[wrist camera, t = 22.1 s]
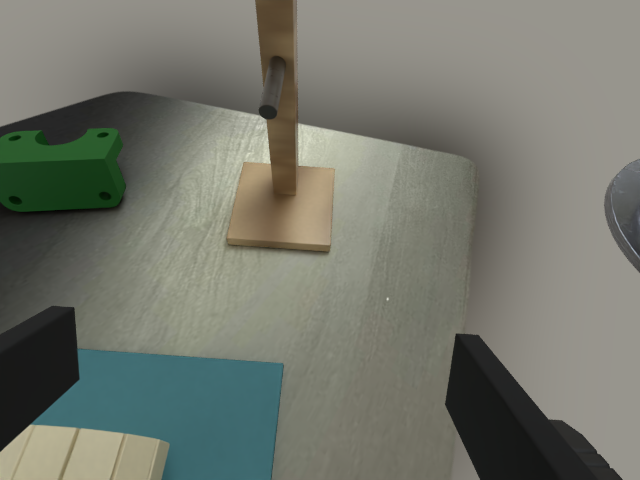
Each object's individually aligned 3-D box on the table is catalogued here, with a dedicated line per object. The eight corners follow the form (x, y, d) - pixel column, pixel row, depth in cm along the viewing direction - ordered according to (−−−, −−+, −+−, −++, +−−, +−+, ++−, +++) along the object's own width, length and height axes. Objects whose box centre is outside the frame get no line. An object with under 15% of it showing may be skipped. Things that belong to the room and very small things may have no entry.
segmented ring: (183, 447, 28) (140, 432, 21) (172, 497, 27) (121, 499, 19) (59, 439, 28) (-30, 419, 21) (40, 488, 27) (-62, 486, 19)
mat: (283, 365, 32) (283, 363, 32) (254, 632, 24) (253, 635, 23) (17, 346, 32) (13, 343, 32) (-108, 606, 24) (-117, 609, 23)
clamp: (129, 199, 46) (139, 133, 41) (115, 232, 42) (125, 164, 37) (9, 169, 42) (3, 91, 37) (-20, 203, 38) (-32, 121, 32)
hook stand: (333, 175, 44) (356, -41, 26) (329, 252, 38) (354, 45, 21) (244, 169, 44) (205, -52, 26) (228, 244, 38) (164, 31, 21)
